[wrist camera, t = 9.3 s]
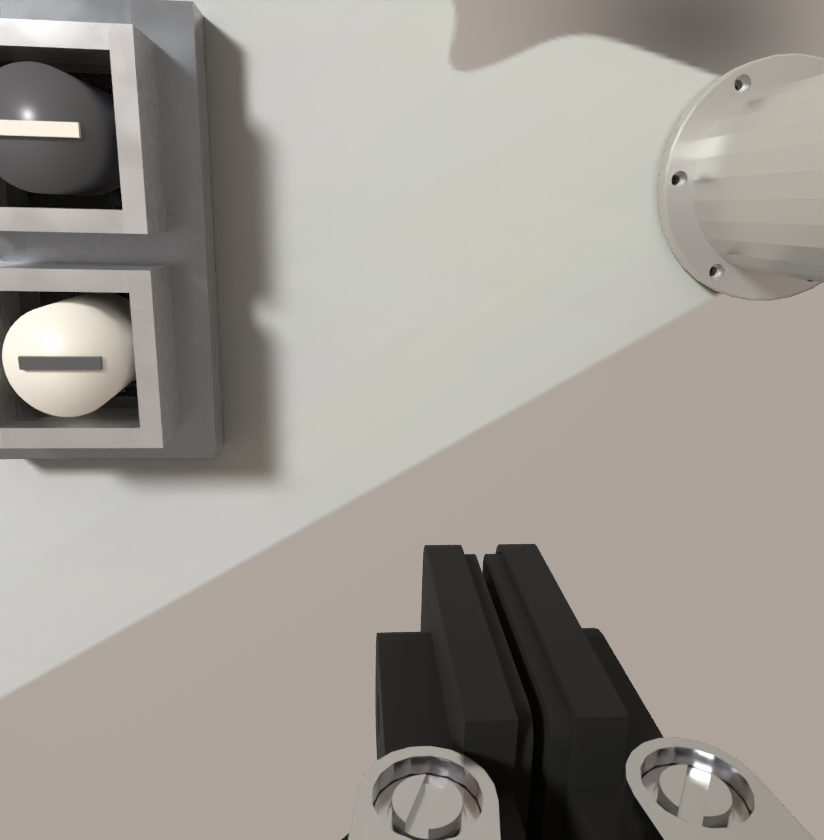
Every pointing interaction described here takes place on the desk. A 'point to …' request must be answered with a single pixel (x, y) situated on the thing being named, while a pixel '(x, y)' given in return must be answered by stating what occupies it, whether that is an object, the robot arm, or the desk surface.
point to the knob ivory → (71, 353)
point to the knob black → (56, 132)
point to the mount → (124, 231)
